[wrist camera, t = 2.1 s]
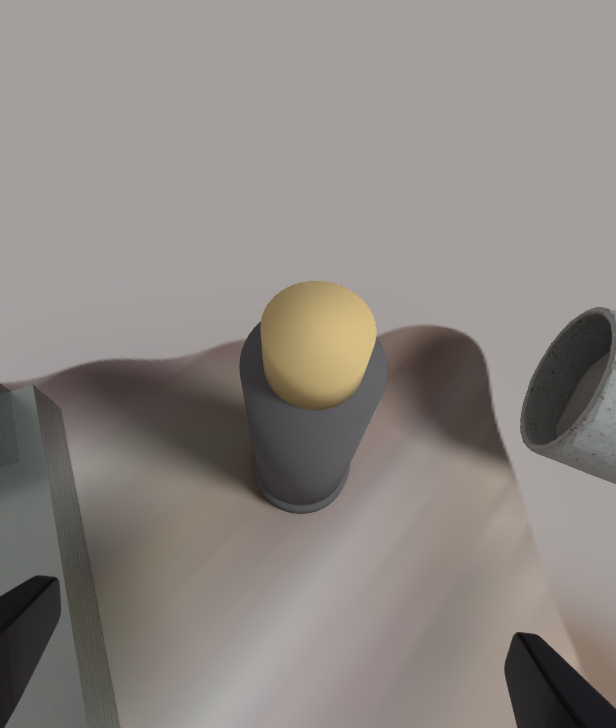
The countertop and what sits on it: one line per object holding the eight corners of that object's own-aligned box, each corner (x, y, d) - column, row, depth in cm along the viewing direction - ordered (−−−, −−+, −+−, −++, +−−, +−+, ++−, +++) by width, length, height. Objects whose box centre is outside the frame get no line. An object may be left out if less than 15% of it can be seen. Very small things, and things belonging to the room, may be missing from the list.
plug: (364, 452, 24) (441, 308, 12) (315, 533, 22) (351, 452, 10) (288, 404, 25) (293, 231, 13) (234, 478, 23) (185, 347, 11)
